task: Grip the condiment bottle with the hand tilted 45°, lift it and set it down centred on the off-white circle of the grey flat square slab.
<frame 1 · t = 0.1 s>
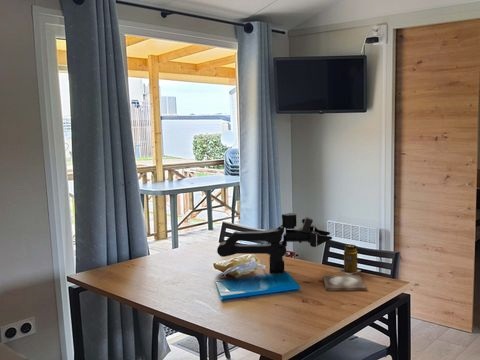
hand: (330, 235, 219), 17 cm above the table, tool horizontal, fingers open, 9 cm apart
grey flat square slab: (343, 284, 202), on the table
condiment: (349, 271, 220), on the table
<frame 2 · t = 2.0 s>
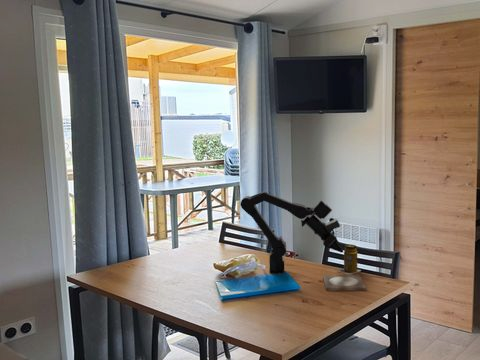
hand: (341, 249, 219), 10 cm above the table, tool tilted 45°, fingers open, 9 cm apart
nothing on the table moved.
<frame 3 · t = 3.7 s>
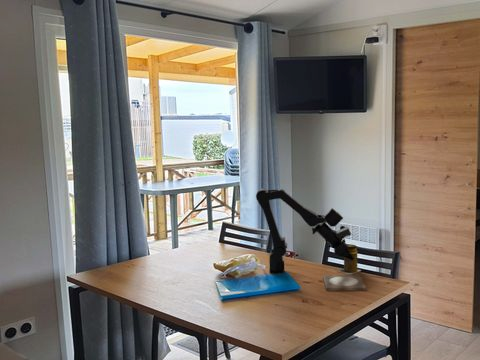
hand: (352, 257, 219), 7 cm above the table, tool tilted 45°, fingers open, 7 cm apart
condiment: (349, 271, 220), on the table, touching gripper
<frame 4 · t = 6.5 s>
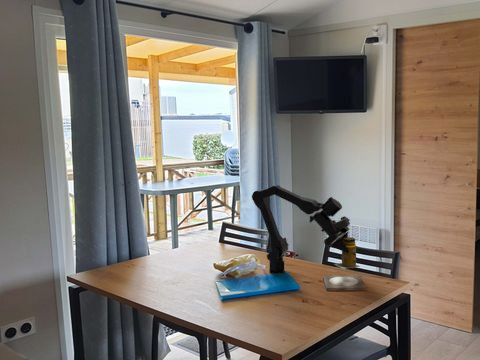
hand: (350, 250, 205), 13 cm above the table, tool tilted 45°, fingers closed on condiment, 6 cm apart
condiment: (346, 266, 206), point 6 cm above the table, touching gripper
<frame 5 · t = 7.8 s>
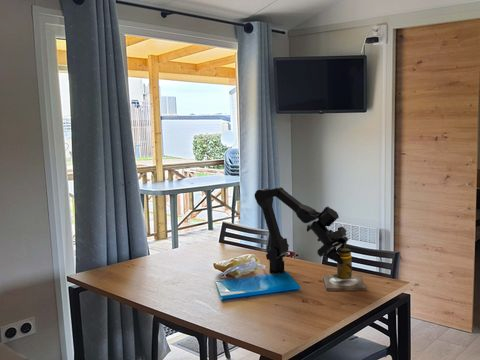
hand: (345, 261, 200), 10 cm above the table, tool tilted 45°, fingers closed on condiment, 6 cm apart
condiment: (342, 277, 202), point 3 cm above the table, touching gripper
when the fingers open (9 cm above the table, at t = 8.9 s): condiment stays where it is, resting on grey flat square slab.
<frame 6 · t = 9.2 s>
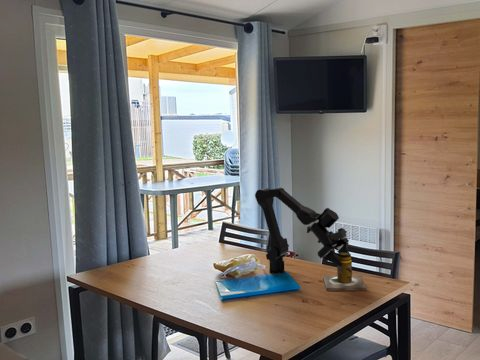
hand: (346, 263, 200), 9 cm above the table, tool tilted 45°, fingers open, 9 cm apart
condiment: (342, 281, 202), point 1 cm above the table, touching grey flat square slab
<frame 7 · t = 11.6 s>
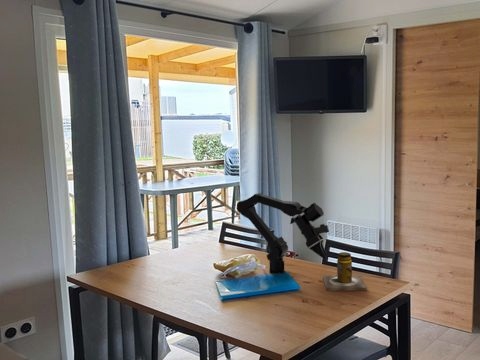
hand: (325, 257, 210), 9 cm above the table, tool tilted 35°, fingers open, 9 cm apart
nothing on the table moved.
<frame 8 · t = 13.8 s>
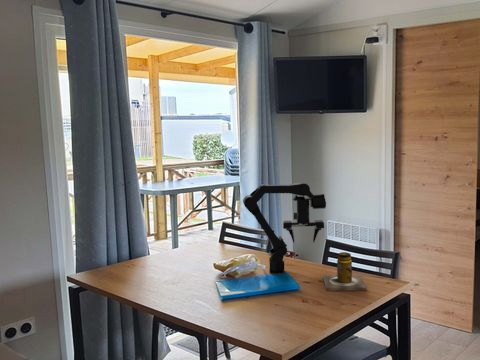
hand: (303, 242, 223), 13 cm above the table, tool pointing down, fingers open, 9 cm apart
nothing on the table moved.
at the end: condiment inside the target area on the grey flat square slab (0.6 cm from its centre), point 1.1 cm above the grey flat square slab's base; condiment tilted 0°; the gripper is holding nothing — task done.
